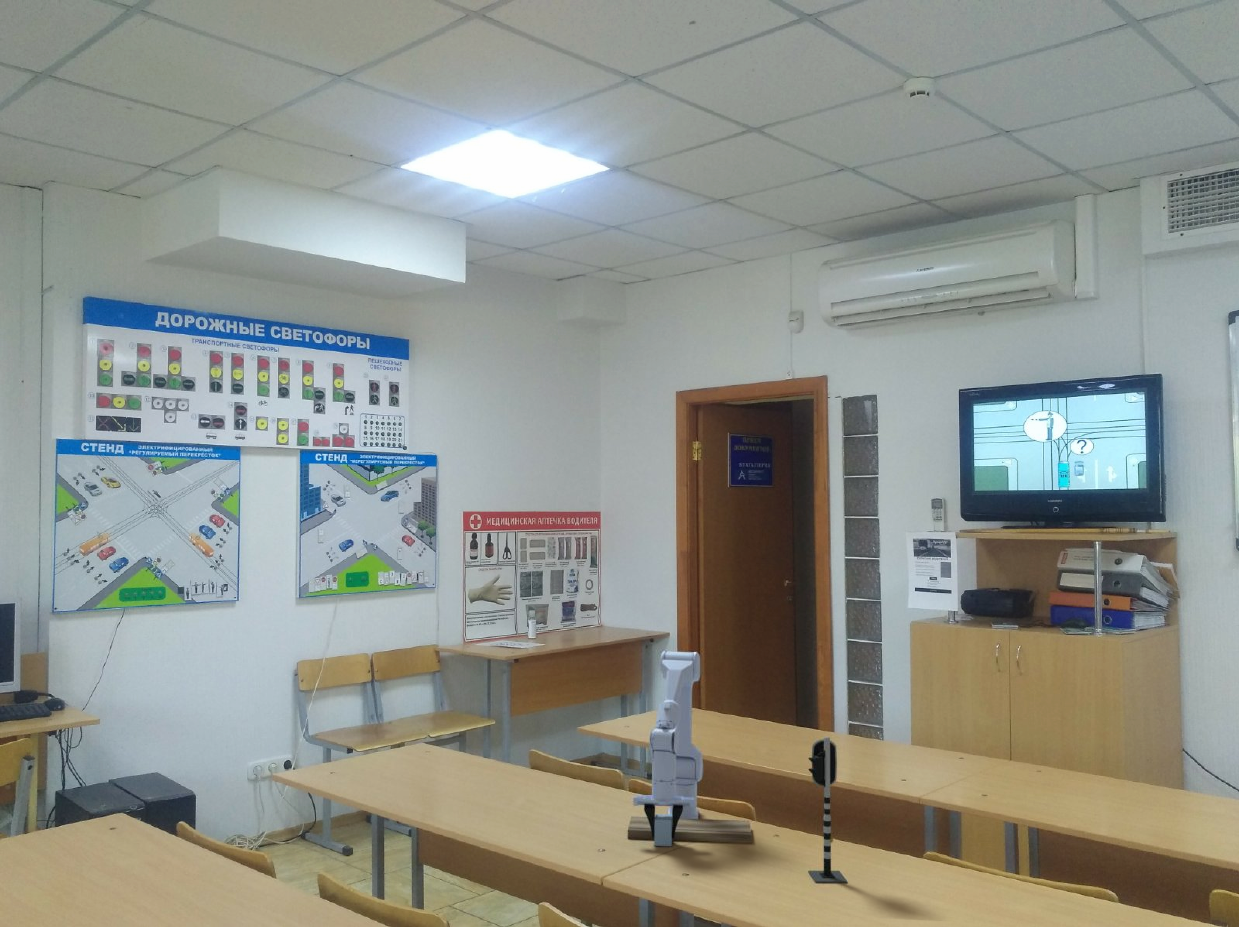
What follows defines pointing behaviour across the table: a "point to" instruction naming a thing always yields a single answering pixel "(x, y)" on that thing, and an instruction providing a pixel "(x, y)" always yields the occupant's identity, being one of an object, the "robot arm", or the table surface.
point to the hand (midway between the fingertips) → (663, 836)
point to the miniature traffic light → (825, 802)
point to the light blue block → (663, 830)
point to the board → (697, 830)
